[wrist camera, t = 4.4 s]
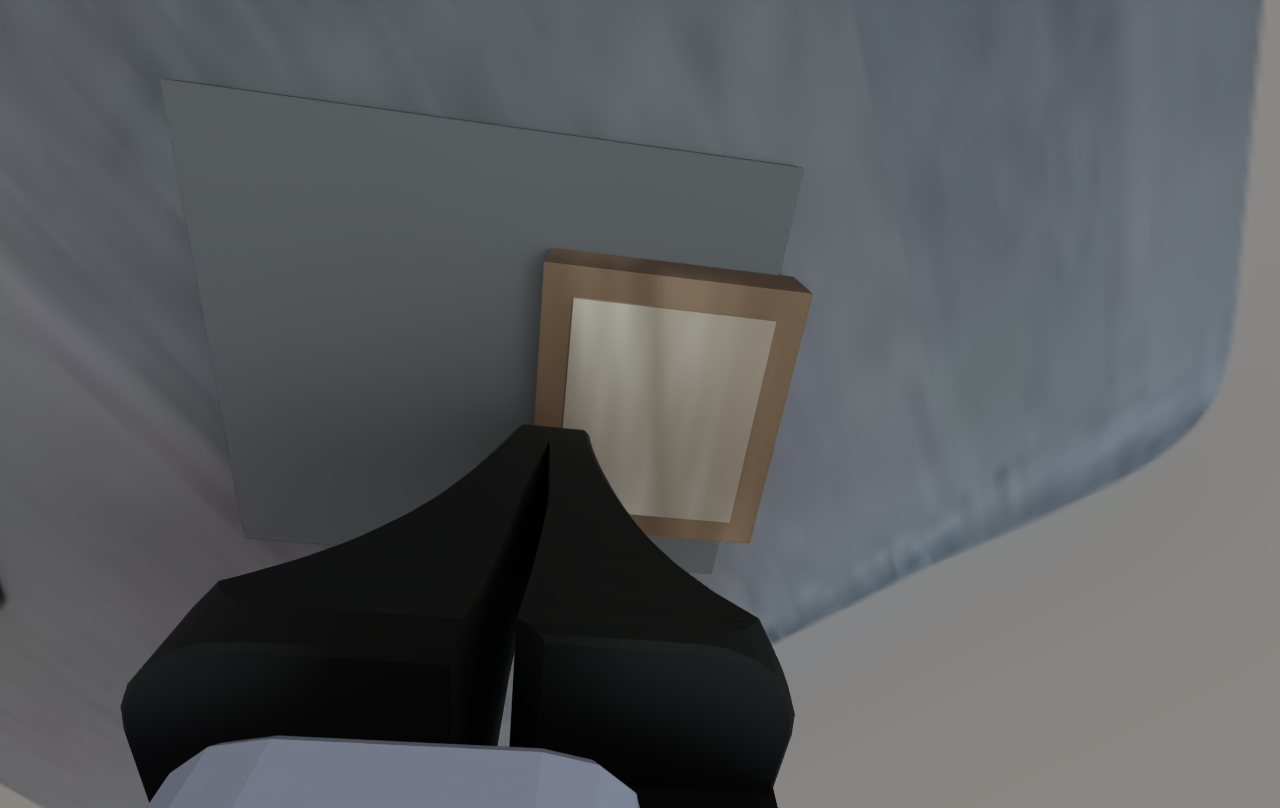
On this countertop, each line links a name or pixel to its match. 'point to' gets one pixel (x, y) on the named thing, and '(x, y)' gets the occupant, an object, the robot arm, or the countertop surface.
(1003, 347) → the countertop surface
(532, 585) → the robot arm
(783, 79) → the countertop surface
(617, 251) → the mat
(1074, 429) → the countertop surface
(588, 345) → the slab
